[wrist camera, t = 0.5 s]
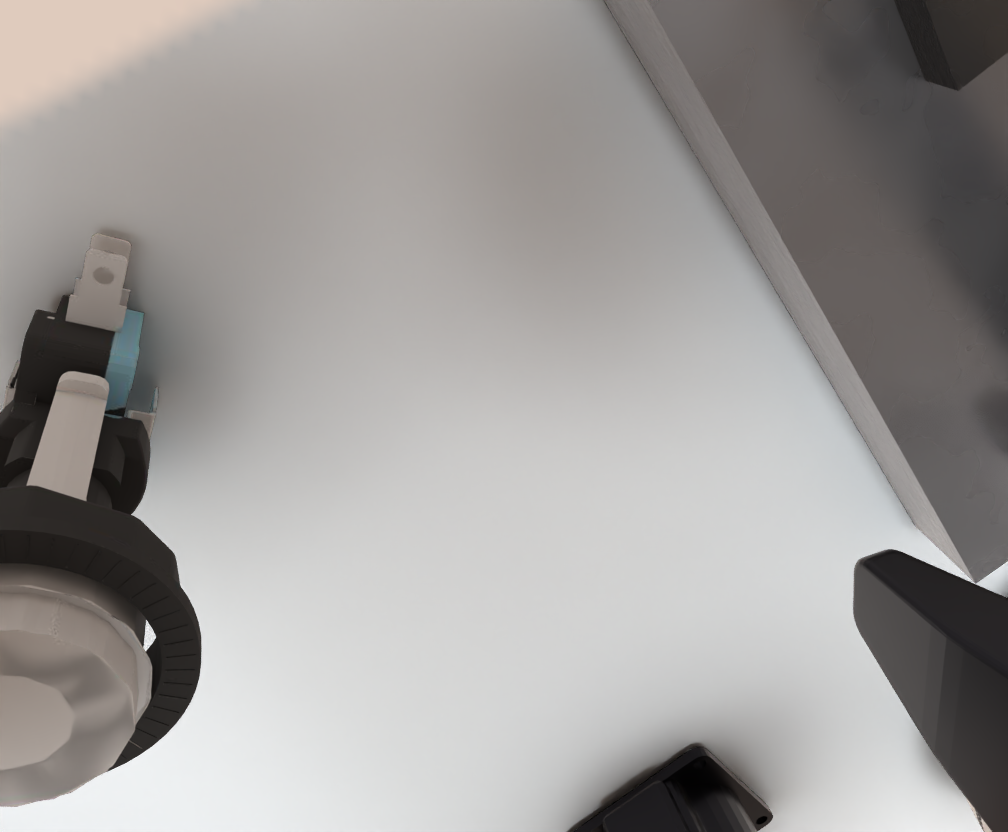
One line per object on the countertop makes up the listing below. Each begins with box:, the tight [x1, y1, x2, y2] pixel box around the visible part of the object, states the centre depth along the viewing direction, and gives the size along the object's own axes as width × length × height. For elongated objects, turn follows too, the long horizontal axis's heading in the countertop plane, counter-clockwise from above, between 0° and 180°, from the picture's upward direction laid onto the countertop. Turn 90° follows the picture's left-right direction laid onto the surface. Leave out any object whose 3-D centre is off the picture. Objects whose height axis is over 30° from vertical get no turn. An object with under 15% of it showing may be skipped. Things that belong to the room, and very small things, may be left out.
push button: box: [0, 233, 201, 807], centre depth 17 cm, size 7×5×10 cm
